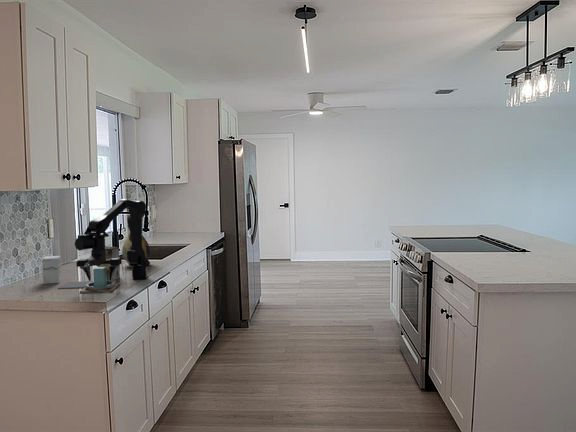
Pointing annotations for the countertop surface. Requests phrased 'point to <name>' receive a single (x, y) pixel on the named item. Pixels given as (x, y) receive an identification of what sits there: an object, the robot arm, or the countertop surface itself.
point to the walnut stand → (99, 290)
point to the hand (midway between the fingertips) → (100, 280)
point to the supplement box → (51, 269)
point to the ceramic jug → (128, 243)
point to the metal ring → (91, 286)
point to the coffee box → (110, 253)
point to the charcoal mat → (74, 285)
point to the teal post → (99, 276)
